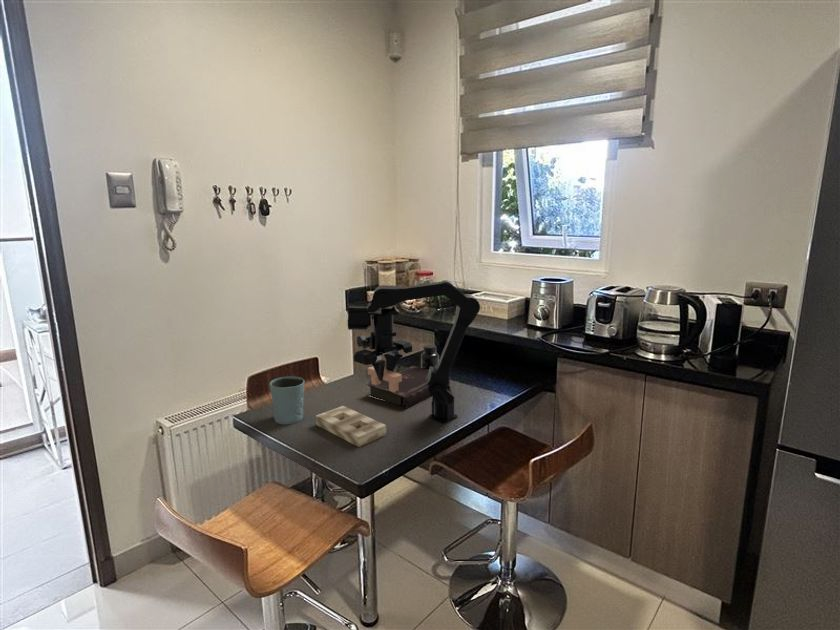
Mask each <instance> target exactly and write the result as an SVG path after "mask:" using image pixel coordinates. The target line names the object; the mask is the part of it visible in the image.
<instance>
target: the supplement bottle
mask: <svg viewBox="0 0 840 630" xmlns="http://www.w3.org/2000/svg"><path fill="white" fill-rule="evenodd" d="M422 350H423V352H422V353H421V354H420V368H424V369H428V370H429V369H430V366H432V367H433V368H434V367H435V366H436V365H437V364H438V362H439V360H440V355H439V354H438V352H437V346H436V345H435V344H425V345H424V346H423V349H422Z"/></svg>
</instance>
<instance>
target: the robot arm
mask: <svg viewBox="0 0 840 630" xmlns="http://www.w3.org/2000/svg"><path fill="white" fill-rule="evenodd" d="M441 296H445V297H446V298H447V299H449V300H450V301H451V302H452V303H453V304H455V305H456V308H455V315H454V322H453V324H452V327H451V329H450V332H449V335H448V337H447V339H446V342H445V344H444V347H443V350H442V352H441V355H440V356H439V362H438V364H437V365H436V366H435V367H434V368H433V367H432V366H430V369H429V373H428V375H427V376H426V382H427V387H428V392H429V394H430V395H431V396H430V397H432V399H431V414H428V417H429V418H430V419H432V420H435V421H438V422H440V423H443V424H445V423H448V422H450V421H452V420H453V419H456V418H457V417H458V414H456V413H455V395H454V393H453V390H452V386H451V385H450V386H449V385H448V383H449V377H450V375H451V374H450V373H451V369H452V367H453V364H454V362H455V359H456V356H457V354H458V351H459V349H460V347H461V345H462V342H463V339H464V337H465V334H466V331H467V330H468V328H469V326H470V325H471V324H472V323H473V322H474V320H475V319H476V318H477V315H479V312H480V309H481V304H480V302H479V301H478V300H477V298H476V297H475V296H474V295H473V294H472V293H471V294H470V293H465V292H464V291H462V290H461V289H460V288H458V287H456V286H455V285H453V283H451V282H450V280H446V279H445V280H442V281H435V282H429V283H422V284H415V285H413V284H412V285H406V286H405V285H404V286H398V285H387V284H386V285H385V284H384V285H382V284H381V285H379V286H377V287H376V288H375V289H374V291H373V295H372V299H371V300H370V302H368V304H367V306H354V305H349V307H348V312H347V313H348V316H347V329H348V330H349V331H351V330H368V329H369V328H370V327H372V316H373V331H371V332H370V336H368V337H367V336H366V335H364V334H363V335H360V336H359V335H358V336H357V338H356V343H357V347H358V348H362V349H361V350H357V351H355V353H354V354H353V362H356V363H359V364H362V365H363V366H369V365H372V367H374V369H375V372H376V374H377V377H378V379H379V380H380V381H382V379H383V374H384V369H385V368H386V370H389V371H392V372H395V369H396V368H397V365H398V363H399V362H400V359H401V358H403V354H400V351H403V353H404V354H409V353H412V352H413V345H412V343H411V342H410V341H406V340H403V339H398V340H394V337H396V336H397V332H396V331H394V315H395V316H396V315H399V314H400V310H399V309H398V308H397V307H396V305H398V304H401V303H403V302H406V301H413V300H419V299H420V300H421V299H427V298H435V297H441ZM367 348H369V349H370V350H368V349H367ZM383 357H384V358H385V359H383ZM385 365H386V366H385Z"/></svg>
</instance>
